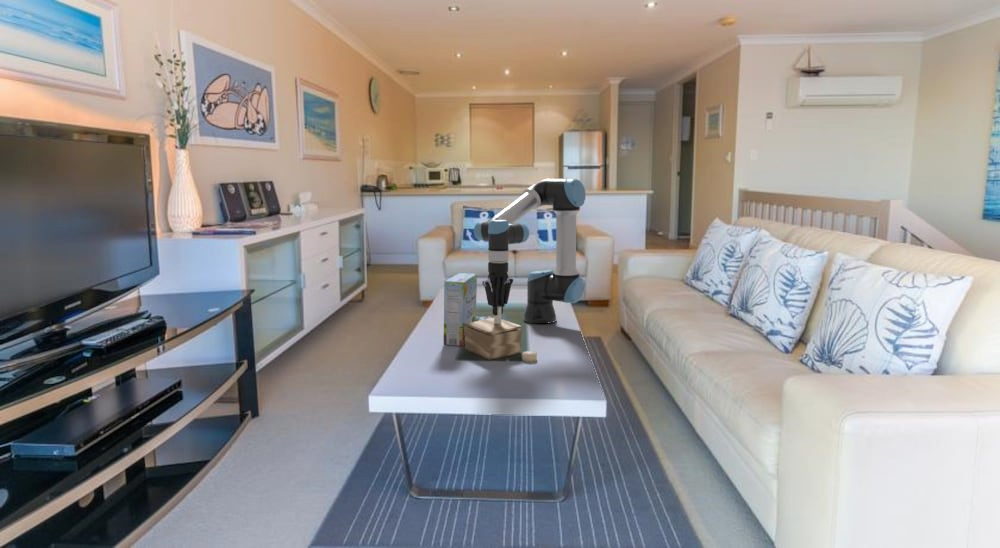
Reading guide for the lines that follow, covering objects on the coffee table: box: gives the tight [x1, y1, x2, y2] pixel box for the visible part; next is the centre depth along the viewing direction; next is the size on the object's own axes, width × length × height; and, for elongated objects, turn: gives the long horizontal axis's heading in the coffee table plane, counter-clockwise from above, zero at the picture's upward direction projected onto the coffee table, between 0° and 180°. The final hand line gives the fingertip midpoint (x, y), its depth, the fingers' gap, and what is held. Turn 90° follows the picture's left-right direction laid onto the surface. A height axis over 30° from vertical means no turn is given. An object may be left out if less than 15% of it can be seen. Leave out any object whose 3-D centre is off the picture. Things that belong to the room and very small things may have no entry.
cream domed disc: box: [521, 350, 538, 363], centre depth 206 cm, size 5×5×2 cm
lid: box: [465, 316, 522, 335], centre depth 214 cm, size 14×17×1 cm
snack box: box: [443, 272, 478, 347], centre depth 230 cm, size 22×9×26 cm, turn 168°
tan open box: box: [464, 326, 522, 361], centre depth 215 cm, size 15×16×9 cm
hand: (497, 323), depth 215 cm, fingers closed
